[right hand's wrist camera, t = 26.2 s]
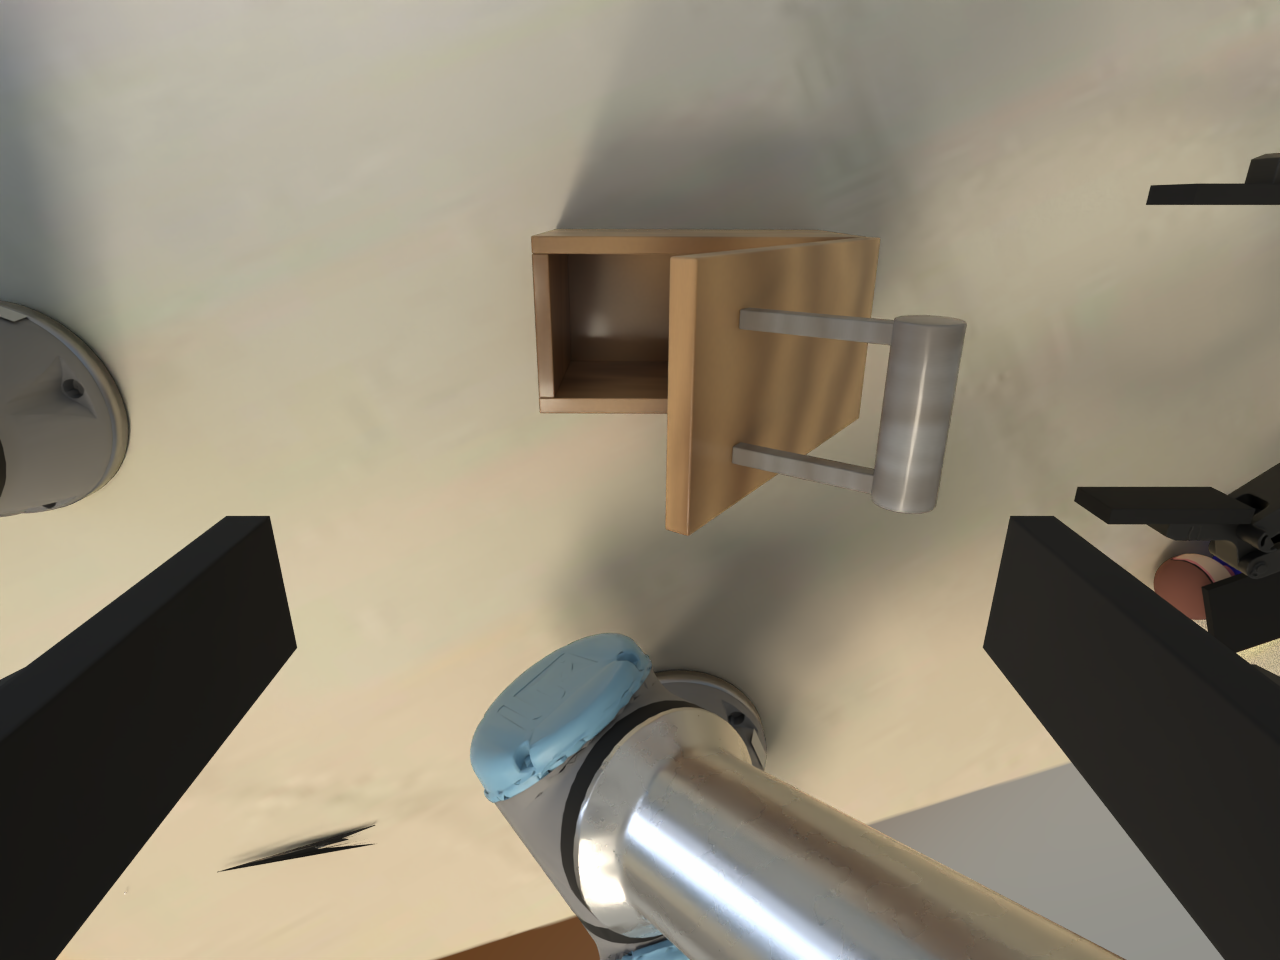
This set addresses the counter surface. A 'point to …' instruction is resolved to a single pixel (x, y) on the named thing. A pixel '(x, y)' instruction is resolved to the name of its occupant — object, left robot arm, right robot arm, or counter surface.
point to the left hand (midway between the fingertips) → (1127, 362)
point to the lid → (797, 378)
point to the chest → (618, 310)
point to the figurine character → (1222, 599)
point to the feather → (304, 851)
